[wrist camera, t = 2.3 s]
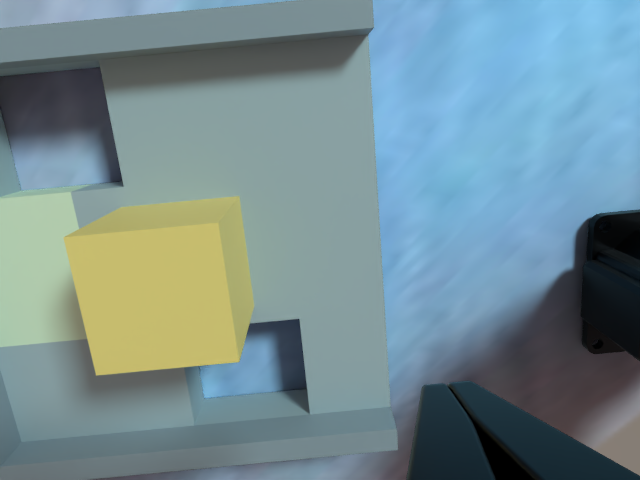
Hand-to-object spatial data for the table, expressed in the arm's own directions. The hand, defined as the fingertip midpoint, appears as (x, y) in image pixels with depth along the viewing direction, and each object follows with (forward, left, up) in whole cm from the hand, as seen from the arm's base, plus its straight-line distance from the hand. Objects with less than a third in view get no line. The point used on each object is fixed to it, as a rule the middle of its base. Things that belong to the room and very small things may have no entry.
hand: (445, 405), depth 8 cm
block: (+7, 0, -11) cm, 13 cm away
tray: (+8, 0, -13) cm, 15 cm away
